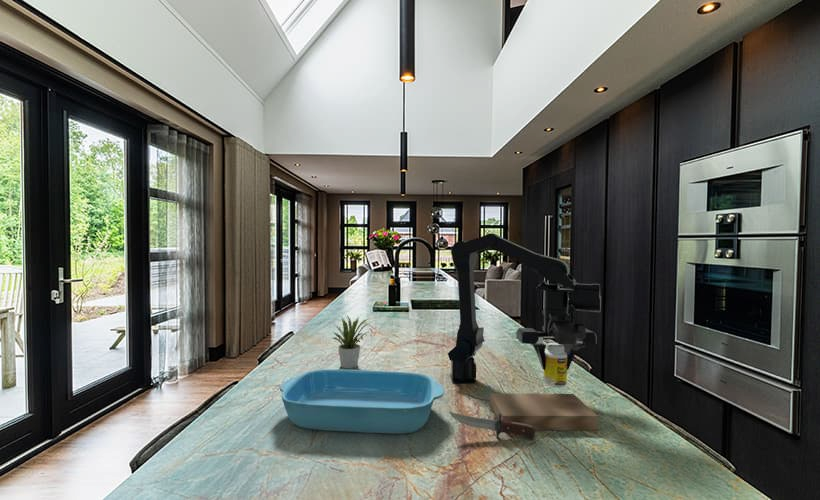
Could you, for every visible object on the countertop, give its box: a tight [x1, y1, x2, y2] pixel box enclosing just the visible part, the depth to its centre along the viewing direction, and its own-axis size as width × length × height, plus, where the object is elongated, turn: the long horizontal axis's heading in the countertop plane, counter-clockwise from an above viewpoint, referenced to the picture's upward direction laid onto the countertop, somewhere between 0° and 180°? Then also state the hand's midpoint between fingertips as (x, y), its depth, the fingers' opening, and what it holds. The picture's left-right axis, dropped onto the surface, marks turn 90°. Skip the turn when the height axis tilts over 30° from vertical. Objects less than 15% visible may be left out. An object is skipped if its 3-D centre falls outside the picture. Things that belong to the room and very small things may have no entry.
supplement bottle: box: [543, 342, 568, 388], centre depth 97 cm, size 6×6×10 cm
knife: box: [448, 411, 536, 440], centre depth 76 cm, size 17×1×5 cm, turn 87°
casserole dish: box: [279, 368, 445, 434], centre depth 86 cm, size 37×22×7 cm, turn 86°
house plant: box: [328, 314, 373, 369], centre depth 121 cm, size 14×14×16 cm
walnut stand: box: [489, 392, 599, 431], centre depth 85 cm, size 20×12×3 cm, turn 90°
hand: (555, 369), depth 97 cm, fingers closed on supplement bottle, 5 cm apart
